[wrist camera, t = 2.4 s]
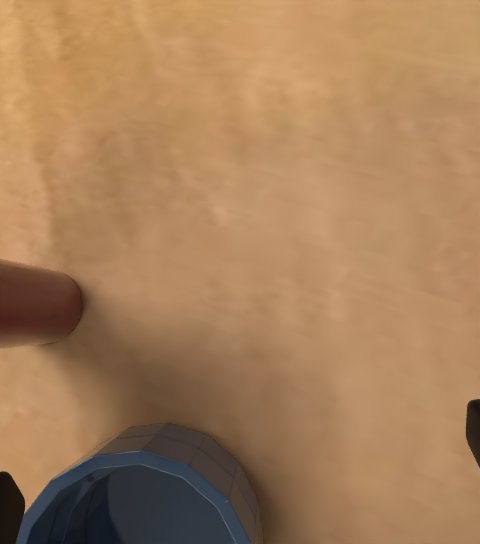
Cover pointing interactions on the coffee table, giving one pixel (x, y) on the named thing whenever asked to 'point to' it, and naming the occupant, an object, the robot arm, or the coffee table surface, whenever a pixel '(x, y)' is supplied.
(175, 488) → the pot
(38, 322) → the bottle
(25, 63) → the coffee table surface
